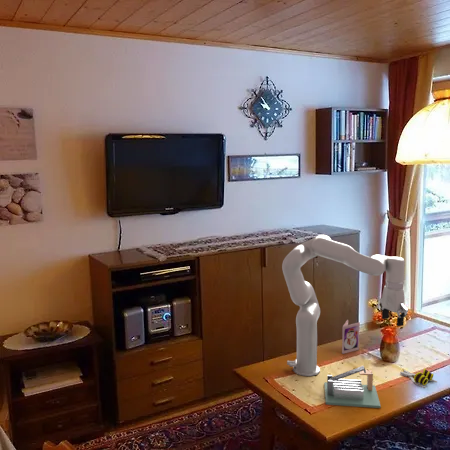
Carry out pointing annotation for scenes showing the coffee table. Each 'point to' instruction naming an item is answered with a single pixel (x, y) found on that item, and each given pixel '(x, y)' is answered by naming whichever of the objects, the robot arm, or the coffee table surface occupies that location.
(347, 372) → the strap
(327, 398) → the circuit board
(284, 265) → the robot arm
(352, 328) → the greeting card
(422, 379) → the opera glasses
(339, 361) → the coffee table surface
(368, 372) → the bracket
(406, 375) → the pliers
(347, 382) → the heatsink
